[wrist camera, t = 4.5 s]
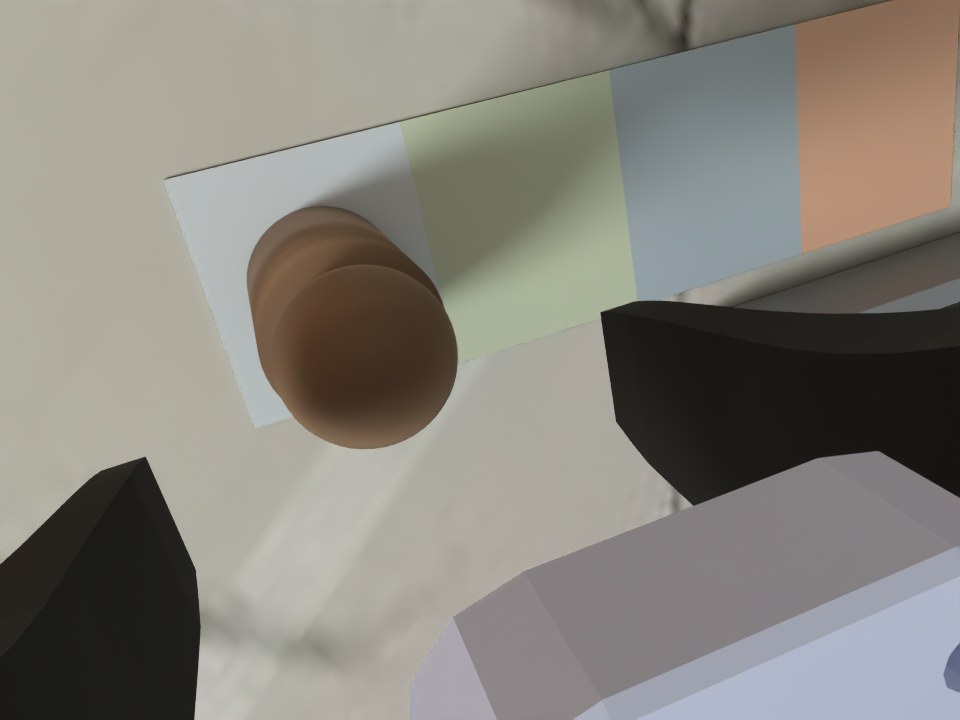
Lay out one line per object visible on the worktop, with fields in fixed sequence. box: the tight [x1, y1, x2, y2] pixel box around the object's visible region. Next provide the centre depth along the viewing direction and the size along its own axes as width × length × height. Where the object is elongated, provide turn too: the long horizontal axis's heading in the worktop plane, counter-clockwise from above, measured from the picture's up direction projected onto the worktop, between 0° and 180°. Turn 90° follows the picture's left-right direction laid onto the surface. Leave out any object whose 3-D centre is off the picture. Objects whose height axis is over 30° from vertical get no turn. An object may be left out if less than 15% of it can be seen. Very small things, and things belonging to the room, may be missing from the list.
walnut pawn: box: [247, 206, 458, 449], centre depth 17 cm, size 4×4×8 cm
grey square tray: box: [733, 232, 960, 314], centre depth 27 cm, size 13×13×3 cm
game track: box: [163, 0, 960, 428], centre depth 23 cm, size 7×24×1 cm, turn 102°
